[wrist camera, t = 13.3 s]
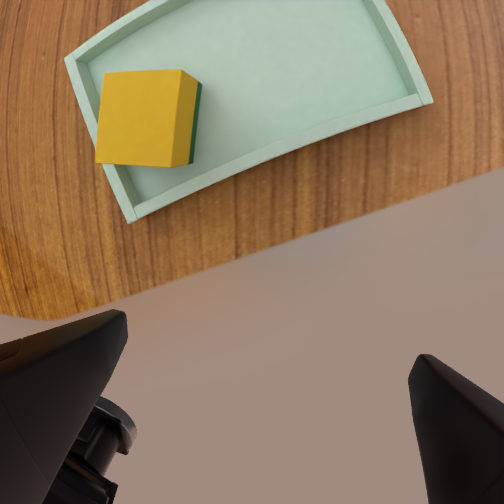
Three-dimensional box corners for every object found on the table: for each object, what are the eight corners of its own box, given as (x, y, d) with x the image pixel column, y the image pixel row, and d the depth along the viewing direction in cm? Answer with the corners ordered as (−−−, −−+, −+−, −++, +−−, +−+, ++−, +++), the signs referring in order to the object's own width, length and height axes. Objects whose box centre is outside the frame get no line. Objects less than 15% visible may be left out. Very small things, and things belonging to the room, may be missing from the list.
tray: (141, 217, 21) (128, 224, 19) (79, 63, 18) (63, 58, 16) (421, 106, 17) (434, 102, 15) (335, -51, 14) (339, -66, 12)
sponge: (193, 163, 19) (170, 168, 15) (127, 159, 19) (94, 163, 15) (202, 83, 17) (182, 69, 14) (135, 83, 18) (103, 72, 14)
